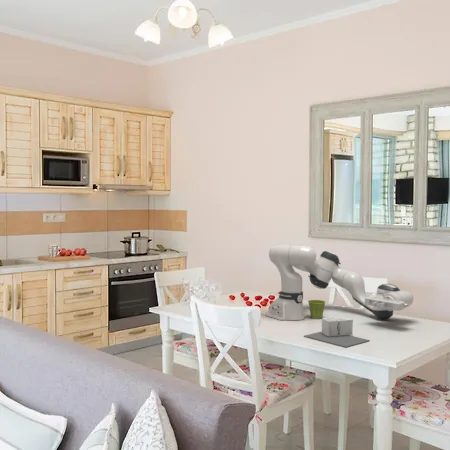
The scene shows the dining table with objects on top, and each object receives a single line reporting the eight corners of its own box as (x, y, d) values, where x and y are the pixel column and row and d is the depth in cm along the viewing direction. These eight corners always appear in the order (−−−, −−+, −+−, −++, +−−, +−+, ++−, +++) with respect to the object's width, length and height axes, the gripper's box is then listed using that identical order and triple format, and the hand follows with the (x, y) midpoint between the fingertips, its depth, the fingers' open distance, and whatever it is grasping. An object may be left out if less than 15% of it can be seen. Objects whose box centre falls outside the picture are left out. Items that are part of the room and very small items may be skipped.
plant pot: (328, 318, 292) (329, 302, 291) (313, 320, 288) (313, 303, 288) (319, 315, 300) (319, 299, 300) (304, 316, 297) (304, 300, 296)
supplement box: (353, 335, 254) (328, 337, 251) (345, 331, 262) (321, 333, 258) (353, 319, 254) (328, 321, 250) (345, 316, 261) (321, 317, 258)
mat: (303, 336, 253) (303, 335, 253) (327, 331, 264) (327, 330, 264) (345, 347, 235) (345, 346, 235) (369, 341, 246) (369, 340, 246)
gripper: (409, 311, 269) (393, 315, 260) (374, 305, 285) (358, 308, 276) (410, 298, 269) (394, 302, 260) (374, 293, 284) (358, 295, 276)
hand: (375, 305), depth 268 cm, fingers closed
